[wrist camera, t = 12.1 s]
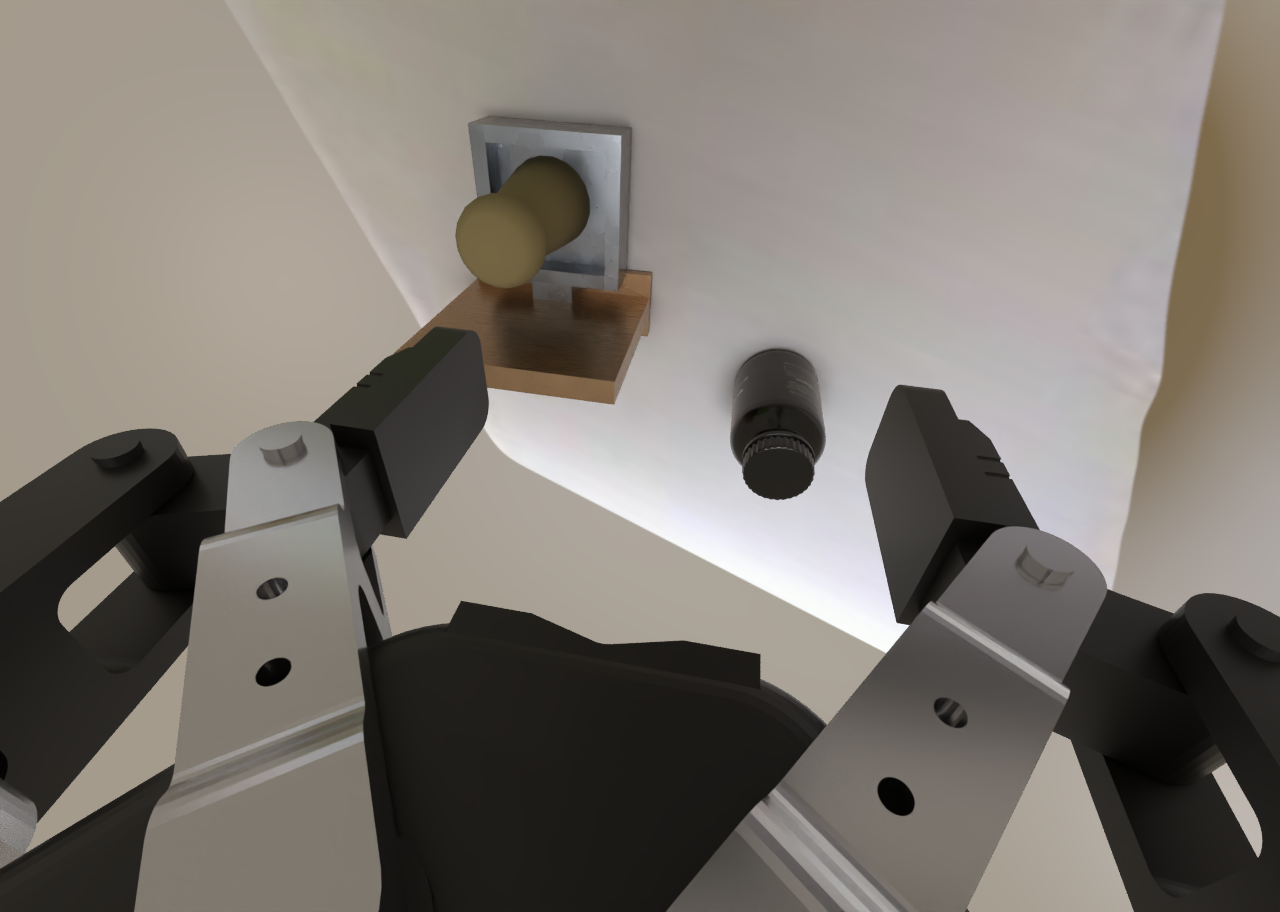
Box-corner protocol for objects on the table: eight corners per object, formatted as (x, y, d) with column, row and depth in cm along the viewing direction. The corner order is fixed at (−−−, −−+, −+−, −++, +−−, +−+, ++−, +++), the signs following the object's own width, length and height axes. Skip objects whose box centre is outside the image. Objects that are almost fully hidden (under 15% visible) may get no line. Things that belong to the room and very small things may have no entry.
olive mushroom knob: (506, 234, 42) (440, 289, 33) (510, 145, 38) (436, 180, 30) (584, 254, 42) (538, 314, 33) (595, 167, 38) (547, 208, 30)
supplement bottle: (722, 364, 47) (712, 448, 38) (803, 335, 44) (814, 418, 35) (750, 427, 50) (748, 520, 41) (827, 405, 48) (843, 498, 38)
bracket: (461, 113, 39) (343, 149, 28) (661, 130, 37) (619, 173, 26) (486, 312, 48) (405, 398, 37) (648, 332, 46) (613, 427, 35)
